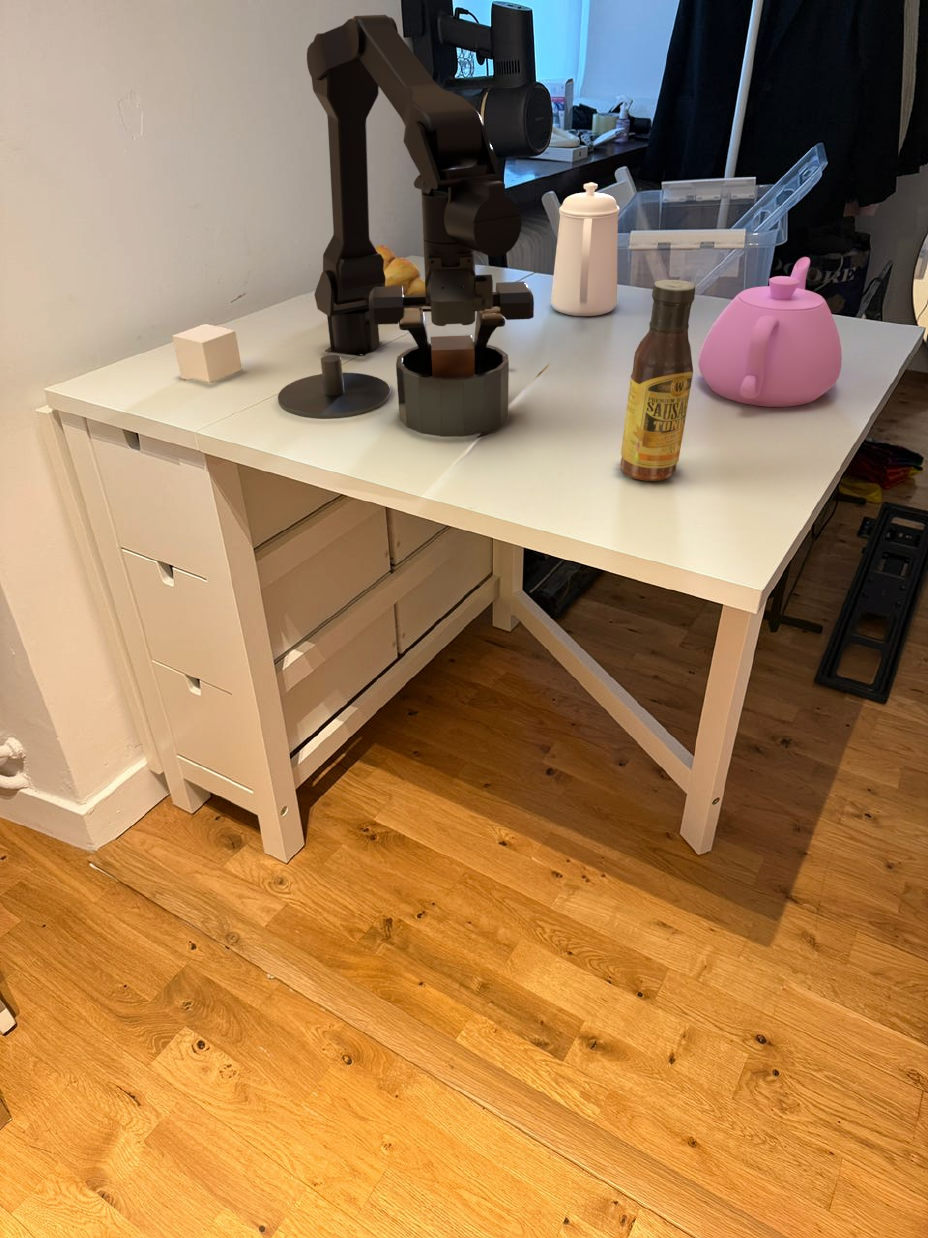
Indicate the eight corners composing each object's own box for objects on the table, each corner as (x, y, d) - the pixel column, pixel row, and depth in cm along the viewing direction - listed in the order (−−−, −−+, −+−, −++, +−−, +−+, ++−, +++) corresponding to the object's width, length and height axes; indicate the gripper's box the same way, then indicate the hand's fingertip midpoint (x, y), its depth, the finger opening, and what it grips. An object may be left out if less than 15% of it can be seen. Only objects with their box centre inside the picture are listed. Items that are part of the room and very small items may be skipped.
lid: (257, 413, 111) (249, 370, 108) (315, 374, 122) (310, 334, 119) (357, 429, 106) (353, 385, 103) (409, 387, 117) (407, 346, 114)
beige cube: (210, 386, 119) (201, 342, 115) (181, 378, 122) (171, 335, 118) (242, 372, 123) (235, 330, 119) (213, 365, 126) (205, 323, 122)
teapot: (819, 429, 104) (846, 312, 96) (674, 405, 110) (688, 294, 102) (849, 362, 122) (874, 259, 114) (722, 345, 128) (738, 247, 120)
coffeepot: (616, 286, 154) (625, 169, 143) (616, 331, 134) (627, 198, 123) (554, 285, 156) (559, 169, 145) (546, 329, 136) (550, 198, 125)
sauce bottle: (639, 489, 92) (660, 297, 81) (608, 465, 97) (624, 280, 85) (690, 476, 94) (718, 287, 83) (658, 454, 99) (680, 272, 87)
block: (433, 391, 104) (431, 350, 101) (432, 376, 108) (430, 336, 105) (475, 390, 104) (474, 348, 101) (472, 375, 108) (471, 334, 105)
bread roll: (439, 299, 150) (438, 250, 145) (403, 313, 144) (400, 263, 139) (383, 288, 156) (380, 241, 152) (346, 301, 150) (342, 252, 145)
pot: (381, 431, 106) (377, 371, 101) (427, 392, 116) (425, 335, 111) (484, 447, 101) (483, 385, 97) (522, 405, 111) (523, 347, 107)
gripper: (361, 259, 89) (373, 403, 99) (542, 253, 90) (537, 397, 99) (365, 234, 98) (376, 368, 108) (529, 228, 99) (526, 363, 108)
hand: (452, 375), depth 105 cm, fingers closed on block, 5 cm apart
